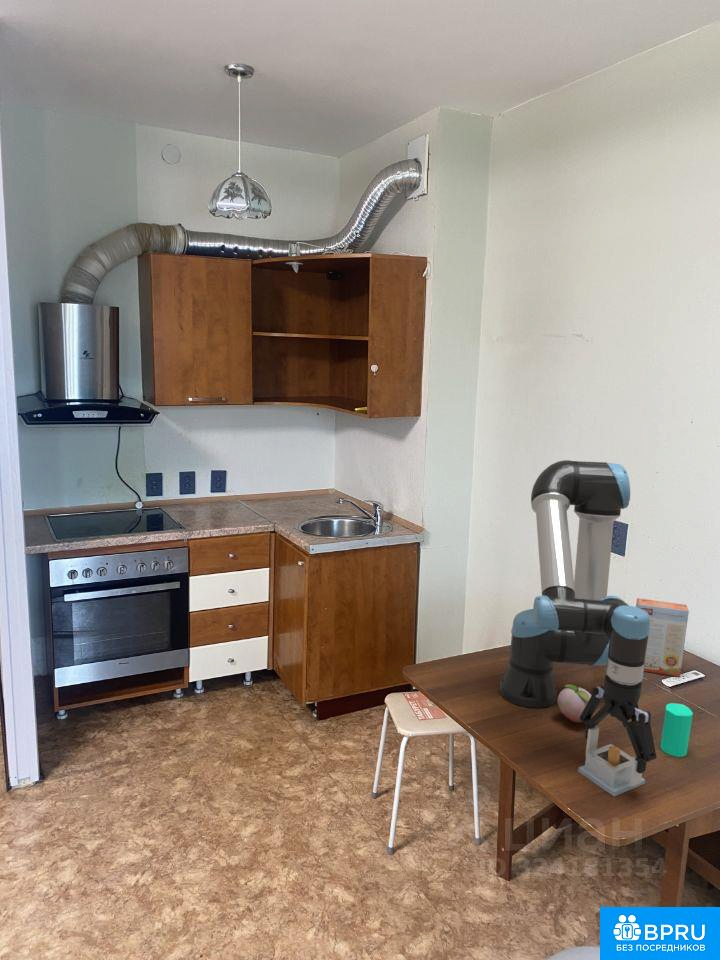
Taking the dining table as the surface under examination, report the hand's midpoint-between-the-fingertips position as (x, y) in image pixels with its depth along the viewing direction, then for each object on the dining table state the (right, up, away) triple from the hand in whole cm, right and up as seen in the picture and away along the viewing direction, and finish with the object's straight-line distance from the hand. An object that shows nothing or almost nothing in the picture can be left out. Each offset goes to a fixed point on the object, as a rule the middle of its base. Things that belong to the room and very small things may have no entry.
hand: (612, 768), depth 158 cm
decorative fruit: (-1, +2, +24) cm, 24 cm away
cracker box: (+32, +7, +56) cm, 65 cm away
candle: (+19, -1, +13) cm, 23 cm away
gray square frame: (0, -1, 0) cm, 1 cm away
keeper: (0, -2, 0) cm, 2 cm away
